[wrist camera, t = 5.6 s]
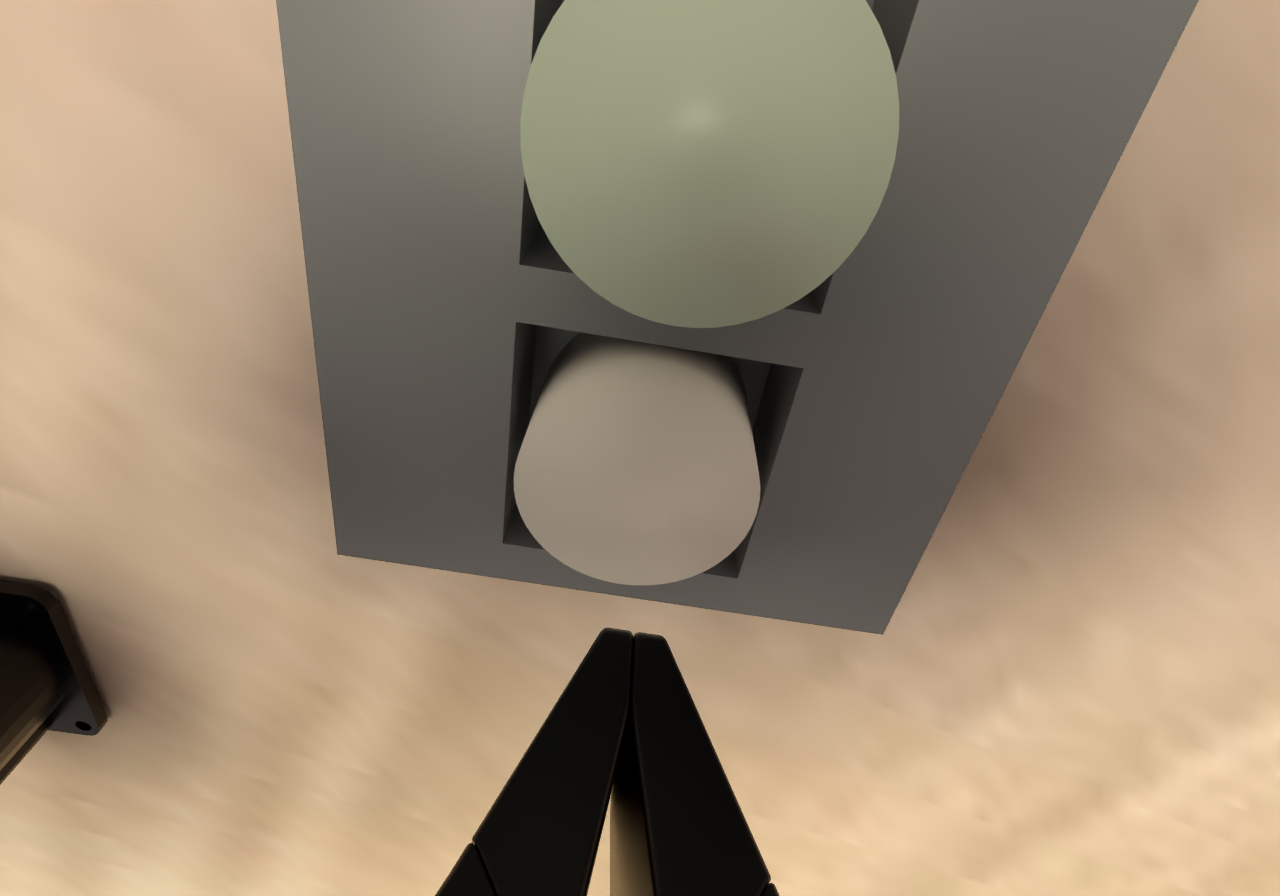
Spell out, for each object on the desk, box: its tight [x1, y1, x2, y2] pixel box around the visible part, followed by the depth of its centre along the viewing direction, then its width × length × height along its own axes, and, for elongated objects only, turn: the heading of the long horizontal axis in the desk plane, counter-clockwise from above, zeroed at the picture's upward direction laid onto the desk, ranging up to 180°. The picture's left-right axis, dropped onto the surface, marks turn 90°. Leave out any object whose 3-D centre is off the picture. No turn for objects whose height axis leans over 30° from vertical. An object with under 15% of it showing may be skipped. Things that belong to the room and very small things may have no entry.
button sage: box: [520, 0, 899, 328], centre depth 9 cm, size 4×4×3 cm
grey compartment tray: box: [276, 0, 1198, 635], centre depth 11 cm, size 19×12×3 cm, turn 171°
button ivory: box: [514, 333, 760, 585], centre depth 14 cm, size 4×4×3 cm
